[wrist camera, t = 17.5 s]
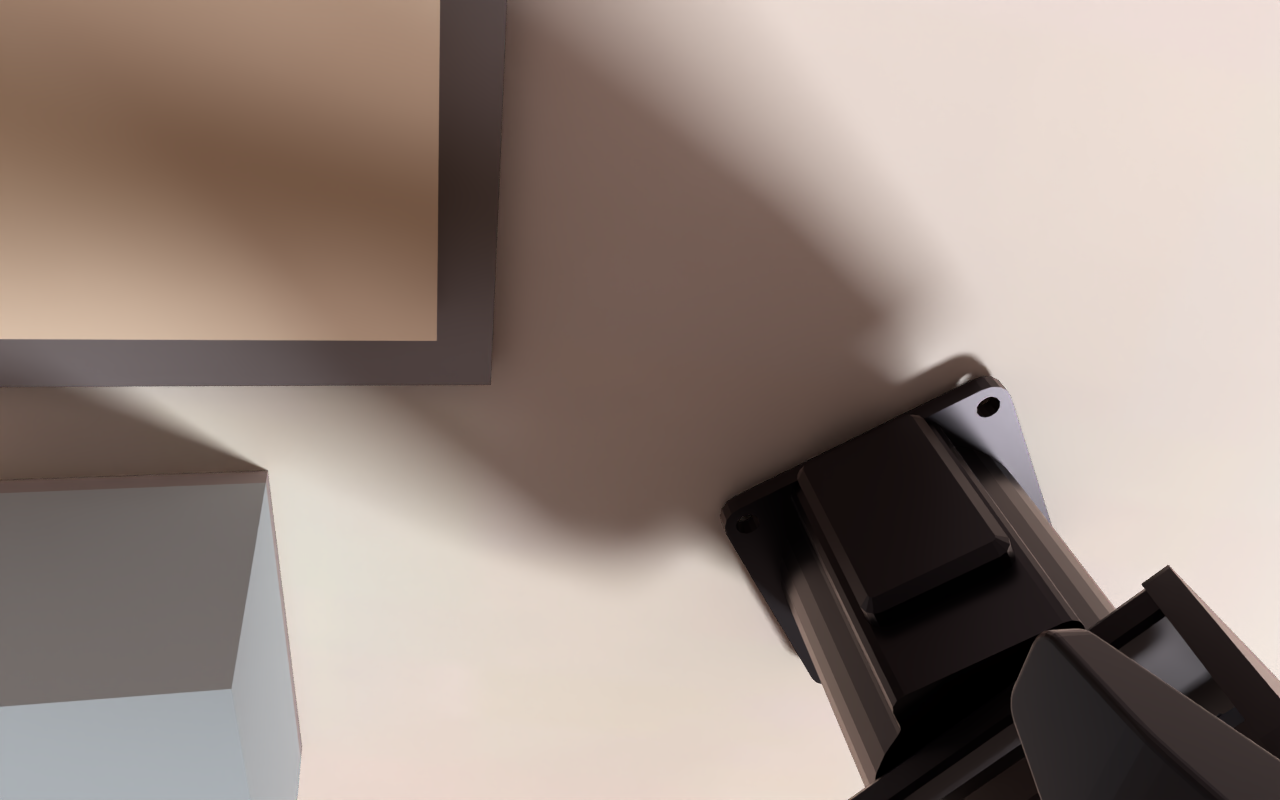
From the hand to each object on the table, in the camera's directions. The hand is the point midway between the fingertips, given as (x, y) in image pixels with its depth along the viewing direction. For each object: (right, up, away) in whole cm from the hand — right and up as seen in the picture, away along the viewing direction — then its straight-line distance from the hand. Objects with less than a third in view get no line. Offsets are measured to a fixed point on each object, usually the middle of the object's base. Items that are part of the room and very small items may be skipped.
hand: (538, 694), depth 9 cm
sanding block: (-9, -2, +13) cm, 16 cm away
